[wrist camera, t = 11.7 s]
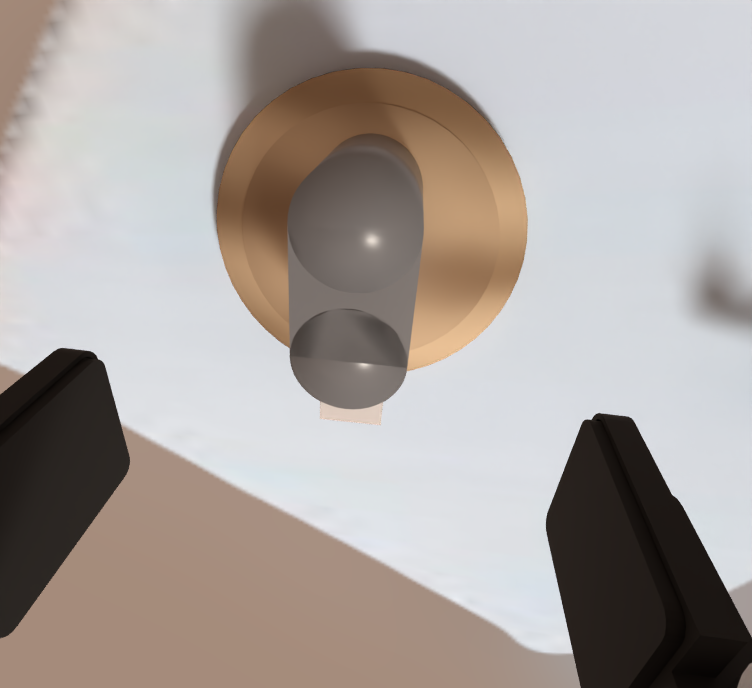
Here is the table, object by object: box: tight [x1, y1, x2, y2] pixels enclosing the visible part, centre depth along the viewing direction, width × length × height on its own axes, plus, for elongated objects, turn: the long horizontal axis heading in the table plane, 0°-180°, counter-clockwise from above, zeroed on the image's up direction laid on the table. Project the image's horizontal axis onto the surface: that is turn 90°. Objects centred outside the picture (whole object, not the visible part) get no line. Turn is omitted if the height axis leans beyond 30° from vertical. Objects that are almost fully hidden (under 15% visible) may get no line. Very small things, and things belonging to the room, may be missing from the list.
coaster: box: [217, 68, 528, 371], centre depth 23 cm, size 14×14×1 cm
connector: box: [287, 133, 424, 425], centre depth 20 cm, size 12×4×6 cm, turn 176°
